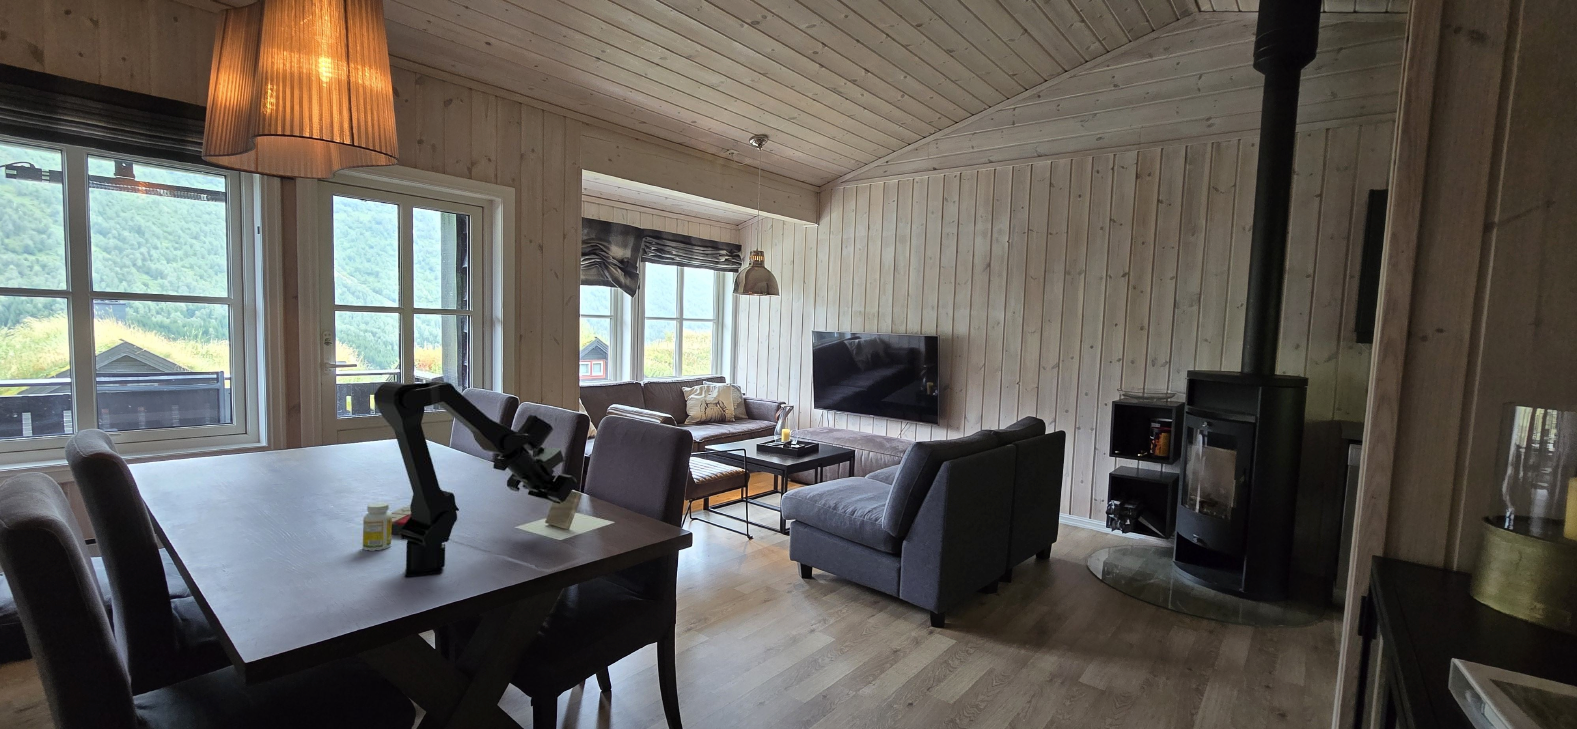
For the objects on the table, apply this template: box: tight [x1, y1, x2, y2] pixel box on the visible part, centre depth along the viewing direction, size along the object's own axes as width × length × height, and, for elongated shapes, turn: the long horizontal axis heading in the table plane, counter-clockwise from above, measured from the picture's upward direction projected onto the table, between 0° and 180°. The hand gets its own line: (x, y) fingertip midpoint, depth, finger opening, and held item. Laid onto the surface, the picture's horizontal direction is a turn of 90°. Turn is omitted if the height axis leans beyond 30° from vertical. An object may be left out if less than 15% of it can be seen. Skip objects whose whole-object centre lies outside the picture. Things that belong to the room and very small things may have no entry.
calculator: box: [391, 504, 428, 537], centre depth 162 cm, size 11×4×15 cm
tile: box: [545, 490, 583, 529], centre depth 166 cm, size 2×7×9 cm, turn 61°
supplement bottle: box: [362, 501, 392, 552], centre depth 146 cm, size 5×5×10 cm
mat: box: [514, 512, 615, 541], centre depth 167 cm, size 18×16×1 cm
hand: (559, 502), depth 165 cm, fingers closed
